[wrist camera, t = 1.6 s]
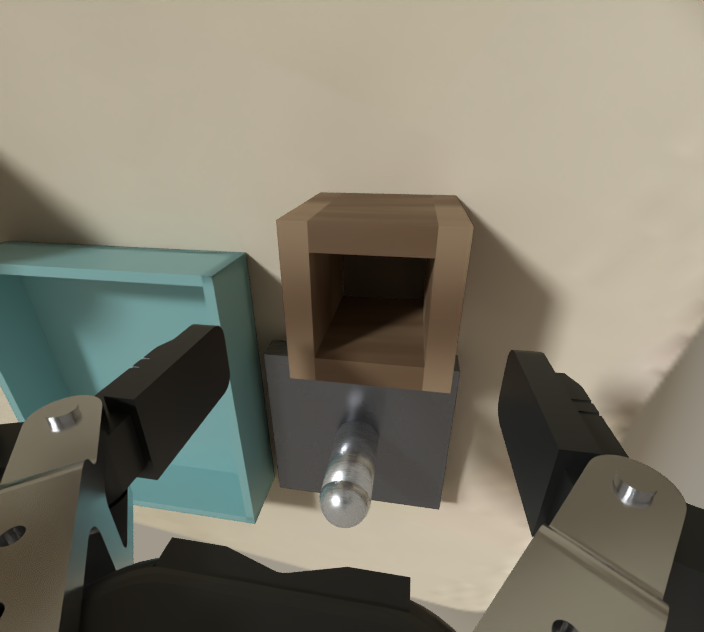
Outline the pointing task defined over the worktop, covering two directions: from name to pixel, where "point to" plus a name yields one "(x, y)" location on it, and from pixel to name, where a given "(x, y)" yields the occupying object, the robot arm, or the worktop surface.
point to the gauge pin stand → (358, 440)
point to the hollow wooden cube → (373, 312)
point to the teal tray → (140, 354)
